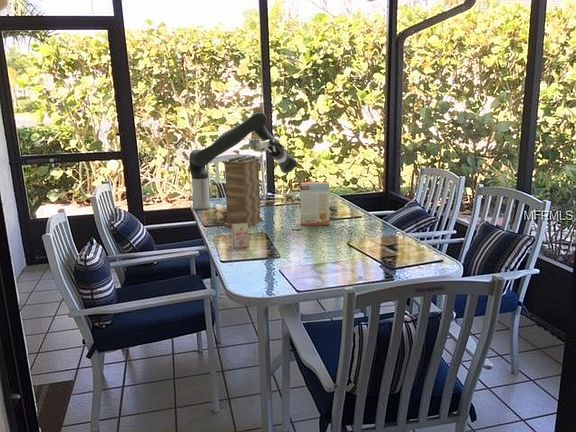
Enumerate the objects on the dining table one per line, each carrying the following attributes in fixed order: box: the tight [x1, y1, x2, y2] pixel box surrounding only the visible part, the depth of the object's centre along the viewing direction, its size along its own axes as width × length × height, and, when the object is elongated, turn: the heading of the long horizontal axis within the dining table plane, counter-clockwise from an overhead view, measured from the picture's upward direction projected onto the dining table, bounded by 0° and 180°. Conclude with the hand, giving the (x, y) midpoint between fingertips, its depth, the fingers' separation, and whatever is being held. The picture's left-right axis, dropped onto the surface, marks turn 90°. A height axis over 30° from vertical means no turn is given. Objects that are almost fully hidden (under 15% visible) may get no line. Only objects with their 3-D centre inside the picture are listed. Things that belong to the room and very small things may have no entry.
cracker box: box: [300, 181, 330, 226], centre depth 245 cm, size 14×6×21 cm, turn 84°
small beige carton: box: [230, 223, 250, 249], centre depth 210 cm, size 4×7×10 cm, turn 105°
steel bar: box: [249, 138, 274, 150], centre depth 263 cm, size 22×4×5 cm, turn 157°
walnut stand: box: [223, 155, 264, 229], centre depth 247 cm, size 18×12×33 cm, turn 157°
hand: (266, 140), depth 267 cm, fingers closed on steel bar, 3 cm apart
